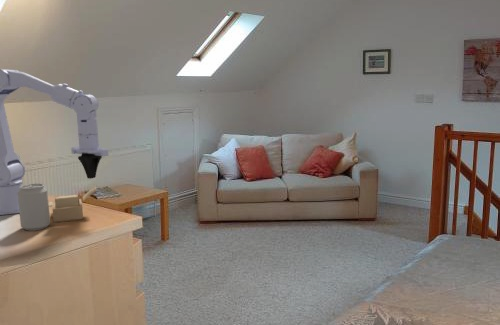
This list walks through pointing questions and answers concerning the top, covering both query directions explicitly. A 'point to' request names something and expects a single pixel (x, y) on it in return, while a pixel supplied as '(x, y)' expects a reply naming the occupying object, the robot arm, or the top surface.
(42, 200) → the can
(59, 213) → the carton
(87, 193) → the side flap
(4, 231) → the top surface
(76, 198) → the long flap
